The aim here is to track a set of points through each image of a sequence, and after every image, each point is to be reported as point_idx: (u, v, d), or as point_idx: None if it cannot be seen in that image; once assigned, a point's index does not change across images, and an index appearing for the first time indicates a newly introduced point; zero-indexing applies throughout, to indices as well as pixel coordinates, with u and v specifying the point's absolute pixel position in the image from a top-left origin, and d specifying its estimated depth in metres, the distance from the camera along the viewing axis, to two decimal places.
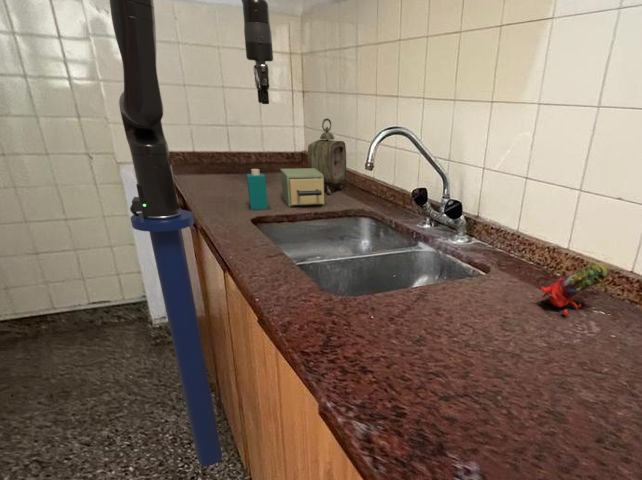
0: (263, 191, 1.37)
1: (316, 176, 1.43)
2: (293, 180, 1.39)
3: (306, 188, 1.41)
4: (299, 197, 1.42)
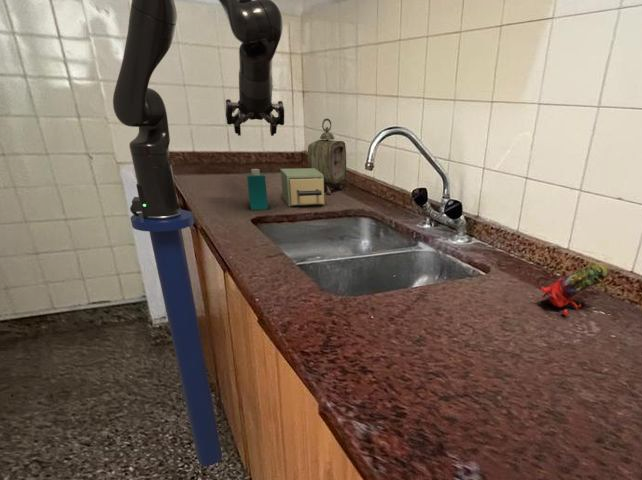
0: (263, 191, 1.37)
1: (316, 176, 1.43)
2: (293, 180, 1.39)
3: (306, 188, 1.41)
4: (299, 197, 1.42)
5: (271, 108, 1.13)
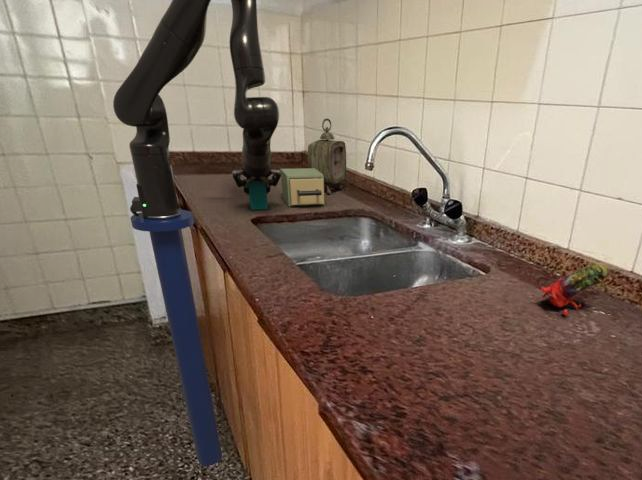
0: (263, 191, 1.37)
1: (316, 176, 1.43)
2: (293, 180, 1.39)
3: (306, 188, 1.41)
4: (299, 197, 1.42)
5: (270, 173, 1.31)
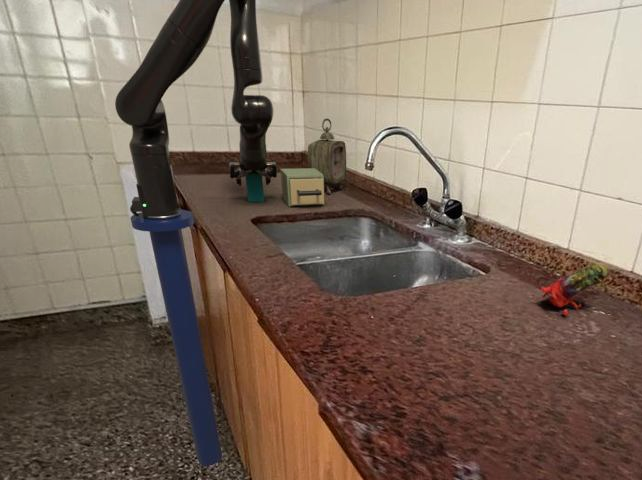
0: (260, 184, 1.46)
1: (316, 176, 1.43)
2: (293, 180, 1.39)
3: (306, 188, 1.41)
4: (299, 197, 1.42)
5: (266, 166, 1.40)
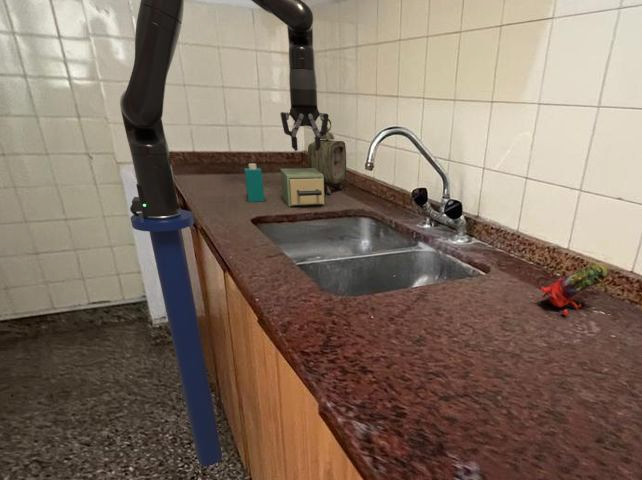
0: (260, 184, 1.46)
1: (316, 176, 1.43)
2: (293, 180, 1.39)
3: (306, 188, 1.41)
4: (299, 197, 1.42)
5: (318, 112, 1.31)
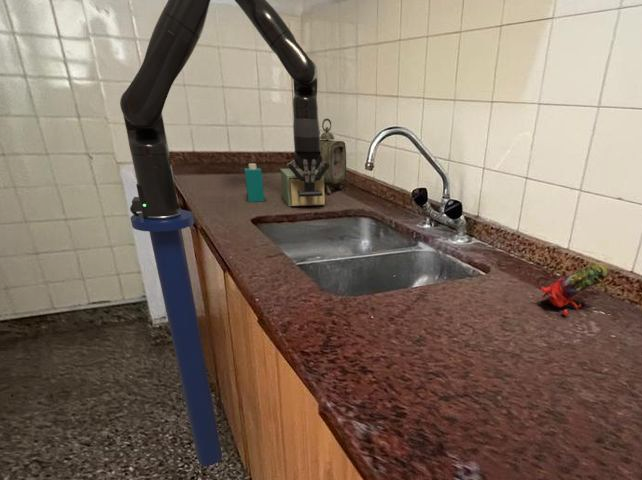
0: (260, 184, 1.46)
1: None
2: (294, 181, 1.38)
3: None
4: (300, 198, 1.41)
5: (321, 158, 1.35)
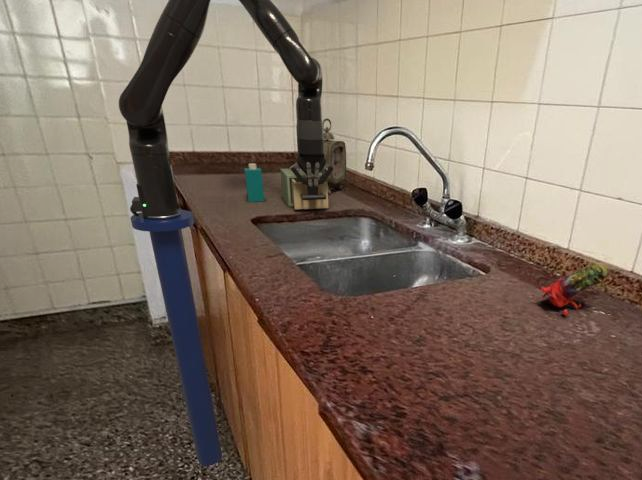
0: (260, 184, 1.46)
1: None
2: (296, 184, 1.34)
3: None
4: (303, 201, 1.37)
5: (325, 161, 1.31)
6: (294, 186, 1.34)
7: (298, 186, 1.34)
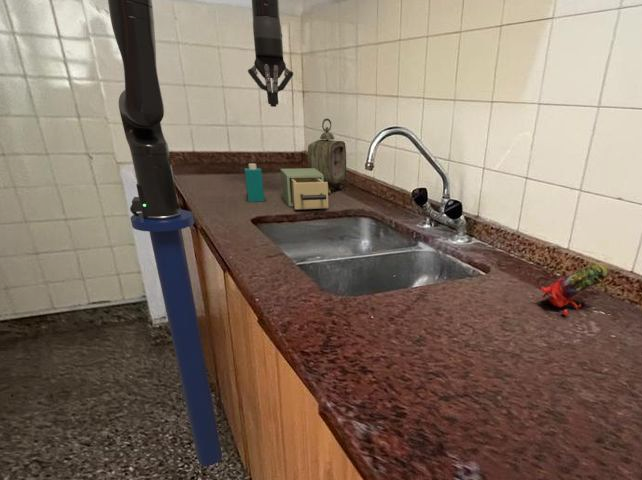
0: (260, 184, 1.46)
1: (316, 176, 1.43)
2: (296, 184, 1.34)
3: (310, 192, 1.36)
4: (303, 201, 1.37)
5: (284, 65, 1.27)
6: (294, 186, 1.34)
7: (298, 186, 1.34)
